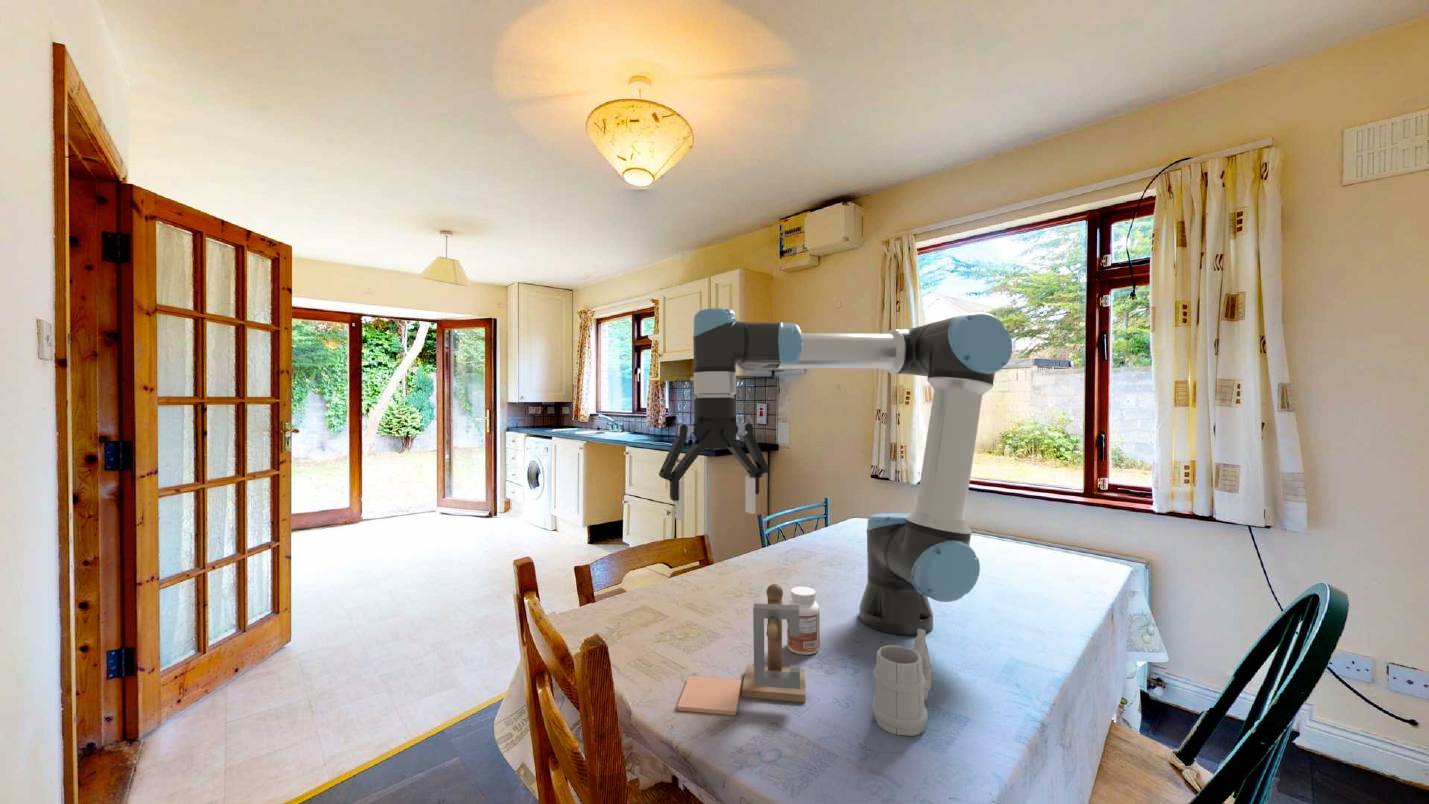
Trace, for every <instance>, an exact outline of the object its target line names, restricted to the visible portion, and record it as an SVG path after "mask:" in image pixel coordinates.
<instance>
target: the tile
mask: <svg viewBox="0 0 1429 804" xmlns="http://www.w3.org/2000/svg"><path fill="white" fill-rule="evenodd" d="M742 681H743V680H741V679H728V678H717V677H703V676H691V675H688V677H687V680H686V683H685V684H684V685H685V686H684V688H683V691H682V693H681V694H680V695H681V696H680V699H679V700H678V704H676V705H677V706H676V710H677V711H681V712H694V713H703V714H704V713H707V714H717V715H726V716H727V715H728V716H736V714H737V709H738V705H739V700H740V693H741V690H742V685H743V682H742Z"/></svg>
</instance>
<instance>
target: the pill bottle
mask: <svg viewBox="0 0 1429 804" xmlns="http://www.w3.org/2000/svg"><path fill="white" fill-rule="evenodd" d="M816 594H817V593H816V590H815V589H814V588H811V587H808V586H795V587H793V588H791V590H790V598H791V600H789V601H788V603H787V605H799V636H789V620H787V619H786V621H787V622H786V627H787V629H786V631H787V632H786V633H787V634H786V638H787V639H786V643H787V647H788V649H789V650H790V652H792V653H794V654H797V655H802V656H803V655H805V656H809V655H814V654H816V653H817V652H818V651H819V650H820V644H821V642H820V640H821V639H820V634H821V633H820V605H819V604H818V602H816V598H817V597H816V596H817V595H816Z"/></svg>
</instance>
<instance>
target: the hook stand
mask: <svg viewBox="0 0 1429 804" xmlns="http://www.w3.org/2000/svg"><path fill="white" fill-rule="evenodd" d="M766 596H767V604H780V605H783V604H782V603H783V596H784V591H783V588H782V586H780V585H779V584H776V583H772V584H770V585H769V586H768V587H767V589H766ZM766 625H767V626H766V627H767V628H766V637H767V666H765V670H766V671H782V672H790V667H783V619H767V624H766ZM805 671H806V670H805V668H800V689H791V688H776V687H761V686H754V665H752V664H751V665H750V664H746V667H745V672H744V678H743V682H742V687H741V698H745V699H761V700H769V701H770V700H773V701H784V702H796V703H797V702H798V703H806V700H807V698H806V695H807V694H806V672H805Z"/></svg>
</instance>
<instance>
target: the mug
mask: <svg viewBox="0 0 1429 804" xmlns="http://www.w3.org/2000/svg"><path fill="white" fill-rule="evenodd" d="M917 633H918V634H917V635H916V637H915V638H914V644H913V647H912V648H909V647H906V646H902V645H895V644H894V645H893V644H891V645H890V644H888V645H884V646H881V647H880V648H879V649H878V650H877V651H876V662H875V663H876V664H875V665H876V666H875V667H874V669H873V676H874V680H875V689H874V691H875V692H874V699H873V700H872V703H871V704H872V711H873V714H874V720H875V722H876V724H877V725H878V726H879V727H880V728H881V729H882V730H884V731H886V732H888V733H890V734H892V735H897V736H907V737H913V736H918V735H920V734H921V733H923V732H924V731H925V727H926V724H927V722H928V717H929V715H928V710H927V708H926V706H925V701H927V698H928V694H929V691H931V688H932V687H931V685H932V678H931V676H932V672H933V666H932V664H931V661H930V659H931V656H930V654H929V648H928V645H927V641H926V633H927V632H926V631H925V630H922V629H918V631H917Z"/></svg>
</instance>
